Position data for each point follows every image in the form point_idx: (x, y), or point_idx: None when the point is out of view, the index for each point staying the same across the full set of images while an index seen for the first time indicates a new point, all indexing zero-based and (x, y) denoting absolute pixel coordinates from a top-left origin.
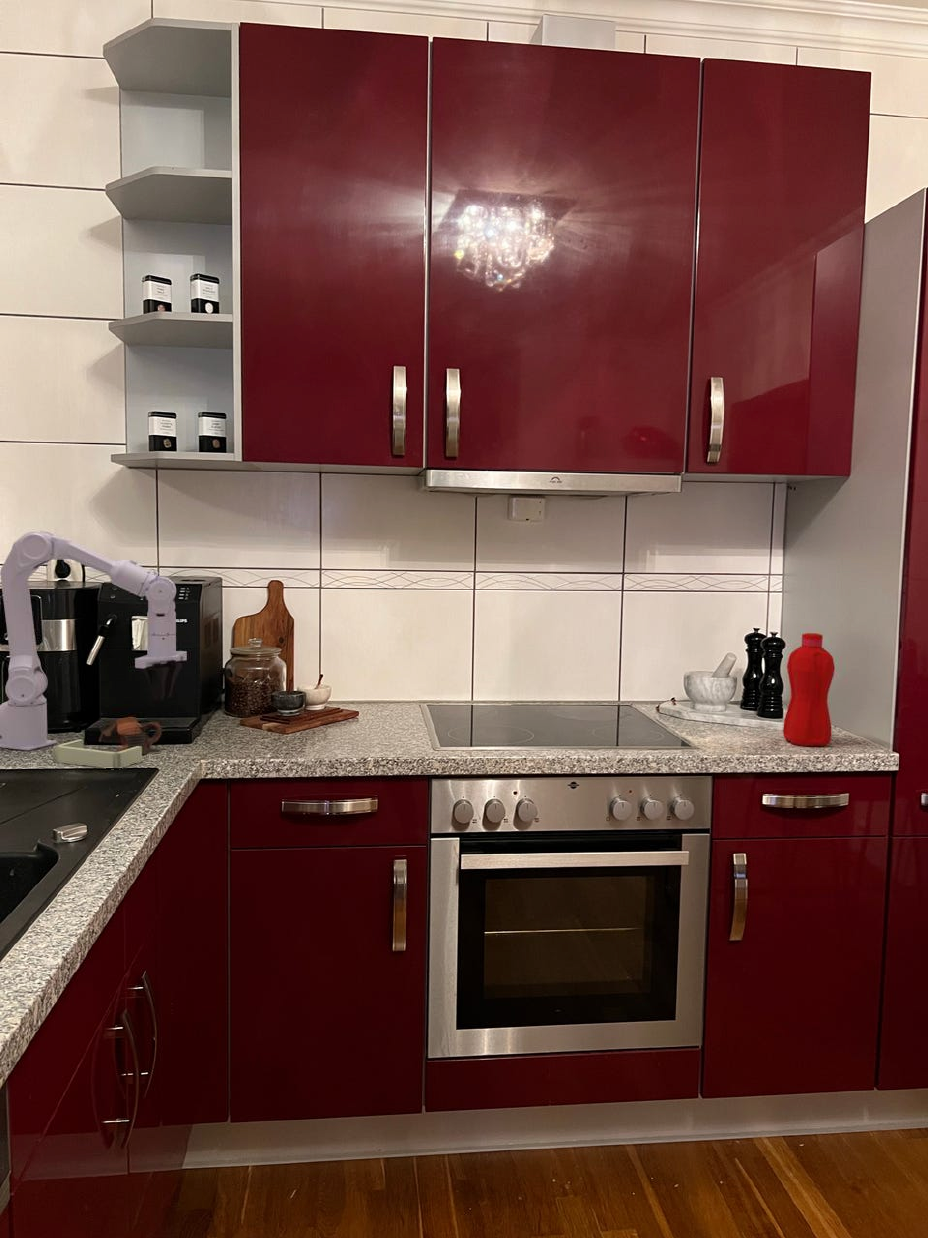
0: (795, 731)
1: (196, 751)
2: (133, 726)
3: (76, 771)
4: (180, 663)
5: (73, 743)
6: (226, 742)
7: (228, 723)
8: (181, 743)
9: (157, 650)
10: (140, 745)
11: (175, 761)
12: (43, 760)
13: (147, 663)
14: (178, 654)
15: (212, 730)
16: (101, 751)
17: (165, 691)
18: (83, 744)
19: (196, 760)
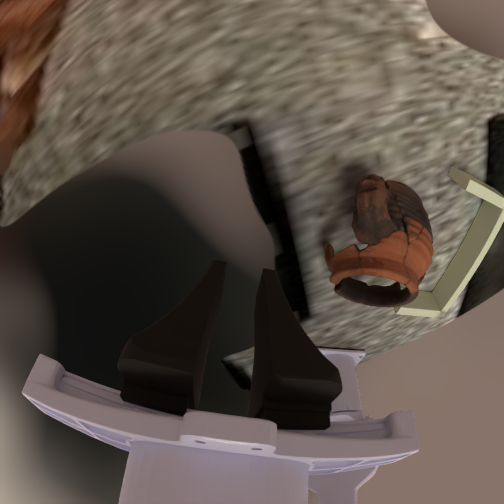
0: None
1: (341, 68)
2: (418, 245)
3: None
4: (121, 365)
5: (419, 308)
6: (205, 35)
7: (34, 161)
8: (255, 144)
9: (307, 502)
10: (411, 199)
11: (443, 94)
12: None
13: (358, 436)
14: (125, 432)
15: (92, 150)
16: (492, 237)
17: (221, 291)
18: None
19: (428, 48)
